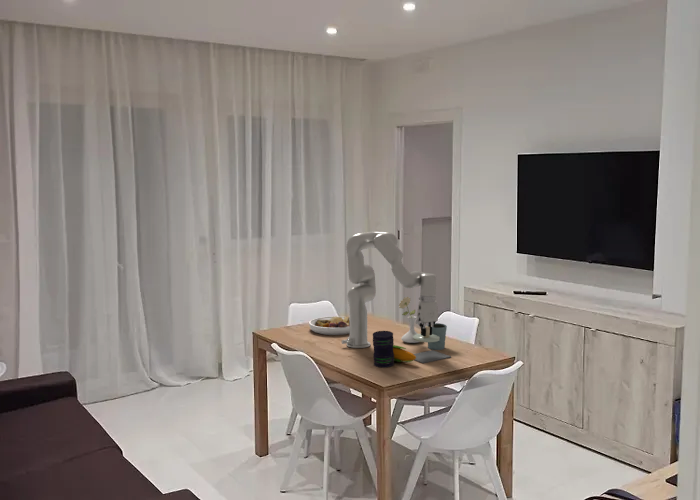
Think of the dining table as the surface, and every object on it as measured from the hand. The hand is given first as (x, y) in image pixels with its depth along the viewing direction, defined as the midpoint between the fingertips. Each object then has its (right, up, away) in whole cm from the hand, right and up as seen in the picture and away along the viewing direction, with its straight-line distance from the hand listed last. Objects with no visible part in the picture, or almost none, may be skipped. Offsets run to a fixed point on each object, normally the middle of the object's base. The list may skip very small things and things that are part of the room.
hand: (426, 334), depth 327 cm
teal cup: (+7, -9, +18) cm, 22 cm away
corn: (-15, -12, -7) cm, 20 cm away
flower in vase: (-5, -8, +30) cm, 32 cm away
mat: (+1, -11, +1) cm, 11 cm away
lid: (0, -2, 0) cm, 2 cm away
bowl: (-46, -5, +59) cm, 75 cm away
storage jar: (-21, -13, -11) cm, 27 cm away
